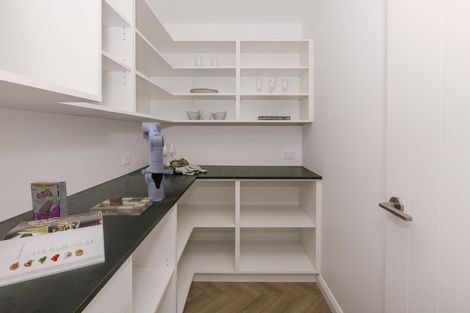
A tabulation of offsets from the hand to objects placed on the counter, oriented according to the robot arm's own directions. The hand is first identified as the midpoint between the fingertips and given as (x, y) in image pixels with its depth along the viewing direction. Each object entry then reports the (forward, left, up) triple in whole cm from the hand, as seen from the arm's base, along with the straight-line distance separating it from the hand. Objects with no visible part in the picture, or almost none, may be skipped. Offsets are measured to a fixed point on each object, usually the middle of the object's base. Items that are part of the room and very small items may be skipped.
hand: (158, 188), depth 114 cm
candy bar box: (+16, -40, -10) cm, 44 cm away
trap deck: (+2, -16, -9) cm, 19 cm away
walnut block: (+6, -18, -6) cm, 20 cm away
